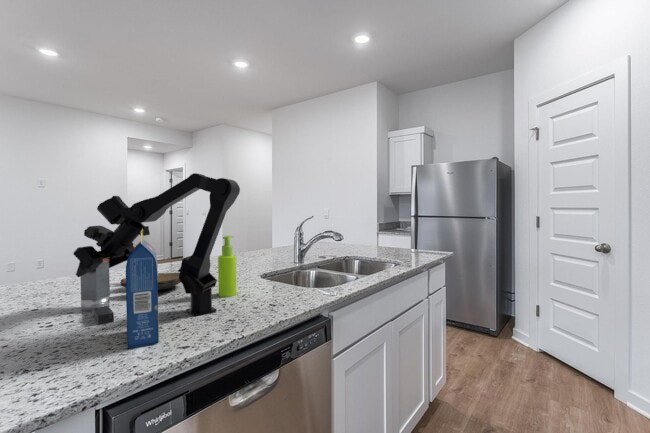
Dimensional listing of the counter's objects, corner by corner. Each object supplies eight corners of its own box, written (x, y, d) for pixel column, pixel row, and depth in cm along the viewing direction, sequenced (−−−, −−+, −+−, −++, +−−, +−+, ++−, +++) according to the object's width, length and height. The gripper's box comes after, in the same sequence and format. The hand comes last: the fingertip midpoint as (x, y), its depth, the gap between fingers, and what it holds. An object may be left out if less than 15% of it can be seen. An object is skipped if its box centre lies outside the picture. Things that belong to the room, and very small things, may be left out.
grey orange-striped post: (110, 295, 101) (109, 253, 101) (96, 300, 96) (95, 255, 96) (94, 295, 102) (93, 253, 101) (80, 300, 97) (79, 255, 96)
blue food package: (159, 325, 84) (157, 227, 83) (159, 343, 74) (157, 230, 73) (130, 330, 81) (128, 228, 80) (126, 349, 71) (123, 232, 70)
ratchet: (121, 320, 88) (121, 299, 88) (89, 326, 84) (89, 305, 83) (107, 302, 104) (107, 285, 104) (79, 307, 99) (79, 289, 99)
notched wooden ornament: (116, 303, 104) (116, 279, 104) (123, 283, 130) (122, 263, 130) (193, 294, 114) (192, 272, 114) (184, 277, 141) (184, 259, 141)
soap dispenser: (240, 291, 117) (239, 235, 116) (232, 297, 110) (232, 237, 109) (224, 291, 118) (223, 235, 117) (215, 296, 111) (214, 236, 110)
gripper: (127, 215, 107) (96, 249, 108) (78, 217, 88) (42, 258, 90) (151, 239, 106) (120, 273, 108) (106, 247, 88) (70, 287, 89)
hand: (90, 272), depth 99 cm, fingers open, 9 cm apart
